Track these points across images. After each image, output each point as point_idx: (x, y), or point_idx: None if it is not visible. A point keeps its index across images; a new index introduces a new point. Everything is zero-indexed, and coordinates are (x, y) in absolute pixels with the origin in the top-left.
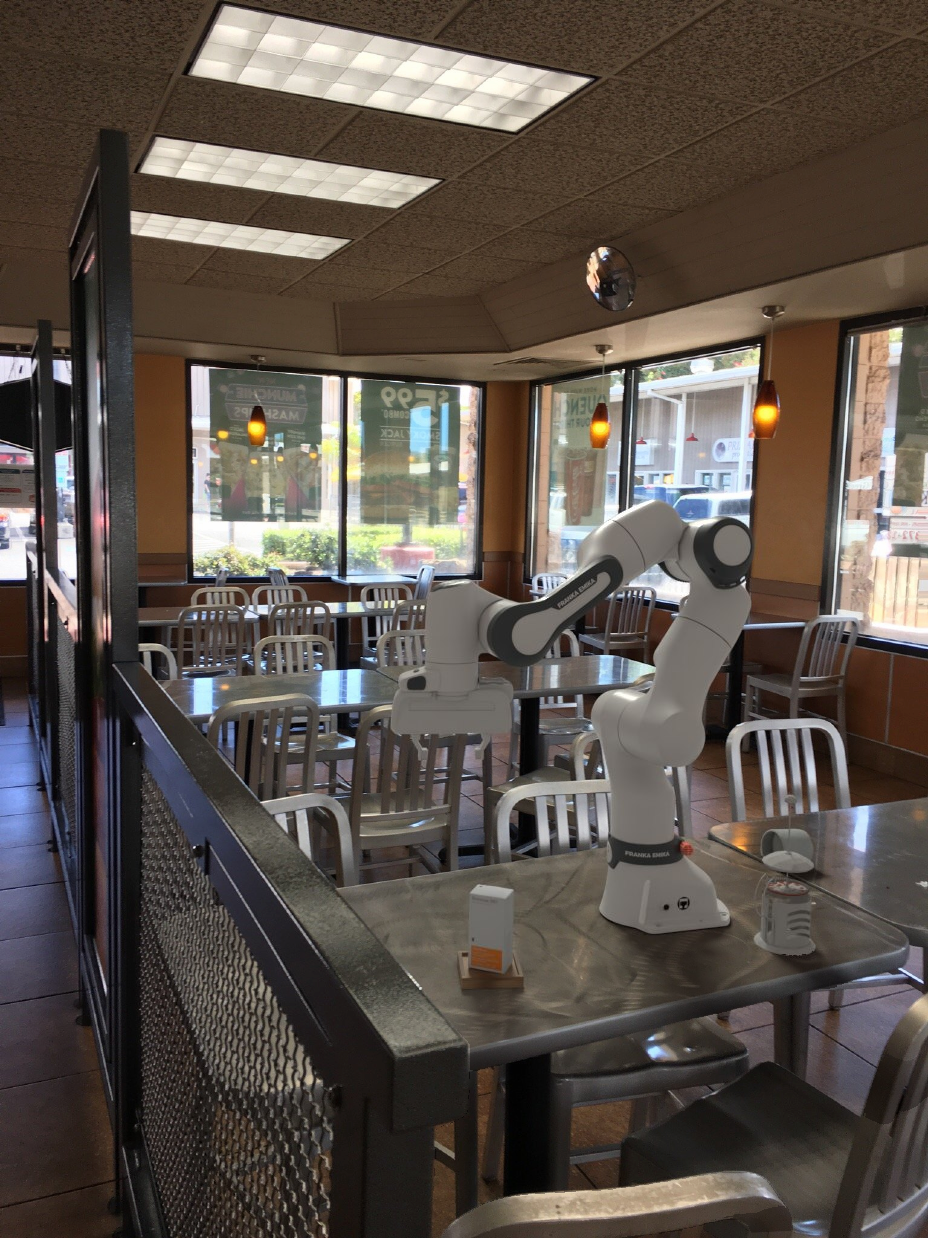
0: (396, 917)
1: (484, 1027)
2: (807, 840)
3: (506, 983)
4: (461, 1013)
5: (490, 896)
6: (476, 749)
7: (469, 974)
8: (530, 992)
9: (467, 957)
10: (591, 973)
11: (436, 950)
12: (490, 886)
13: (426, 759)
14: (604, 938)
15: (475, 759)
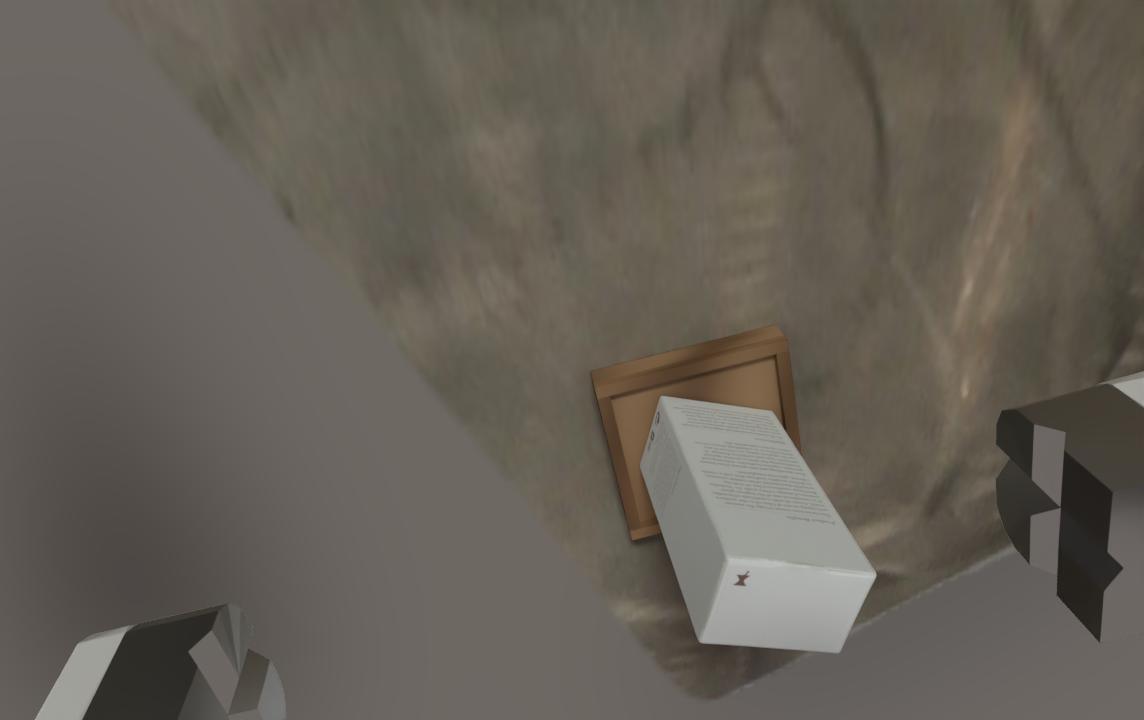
0: (256, 35)
1: (700, 655)
2: None
3: None
4: (641, 618)
5: (782, 648)
6: (1128, 619)
7: (647, 496)
8: None
9: (629, 400)
10: (999, 360)
11: (504, 307)
12: (781, 569)
13: (276, 711)
14: (1105, 91)
15: (1006, 507)
